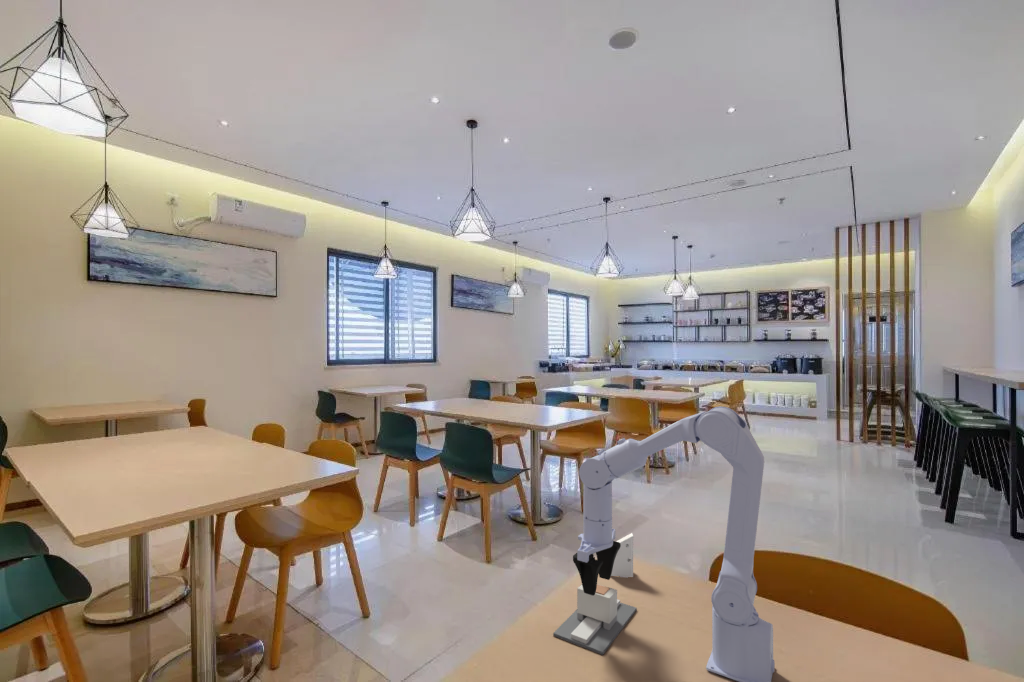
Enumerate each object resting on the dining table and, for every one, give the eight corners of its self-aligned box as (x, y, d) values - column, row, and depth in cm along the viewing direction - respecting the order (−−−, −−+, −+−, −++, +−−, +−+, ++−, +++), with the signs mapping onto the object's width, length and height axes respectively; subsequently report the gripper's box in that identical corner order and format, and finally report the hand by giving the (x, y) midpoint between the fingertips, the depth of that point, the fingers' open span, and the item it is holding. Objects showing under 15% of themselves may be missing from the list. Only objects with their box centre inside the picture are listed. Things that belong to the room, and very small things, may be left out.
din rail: (636, 610, 98) (636, 603, 98) (602, 655, 83) (602, 647, 83) (592, 596, 103) (592, 590, 103) (553, 635, 88) (553, 628, 88)
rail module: (617, 620, 93) (617, 588, 93) (609, 630, 89) (609, 597, 90) (585, 609, 96) (585, 579, 97) (577, 618, 93) (577, 587, 93)
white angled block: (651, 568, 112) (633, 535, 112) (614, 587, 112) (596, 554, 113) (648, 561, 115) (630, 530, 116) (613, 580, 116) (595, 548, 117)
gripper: (593, 504, 102) (593, 567, 101) (563, 523, 90) (562, 594, 89) (625, 510, 98) (624, 575, 97) (597, 531, 86) (597, 606, 85)
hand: (597, 585), depth 93 cm, fingers open, 7 cm apart
